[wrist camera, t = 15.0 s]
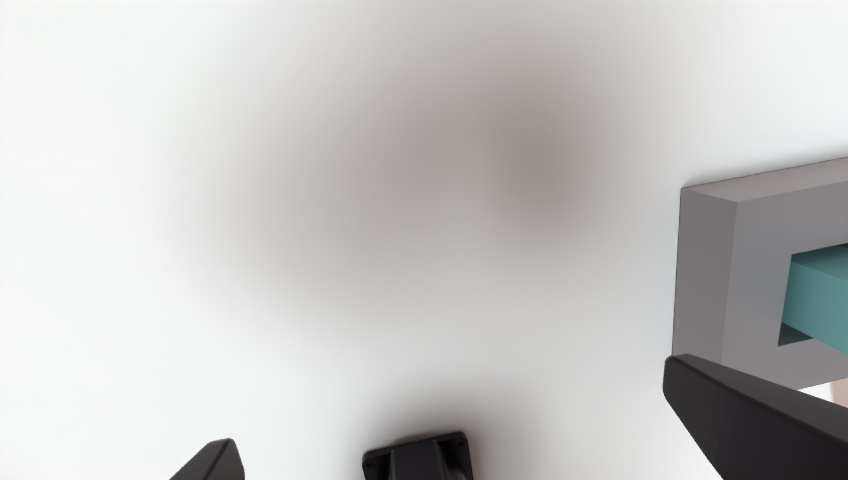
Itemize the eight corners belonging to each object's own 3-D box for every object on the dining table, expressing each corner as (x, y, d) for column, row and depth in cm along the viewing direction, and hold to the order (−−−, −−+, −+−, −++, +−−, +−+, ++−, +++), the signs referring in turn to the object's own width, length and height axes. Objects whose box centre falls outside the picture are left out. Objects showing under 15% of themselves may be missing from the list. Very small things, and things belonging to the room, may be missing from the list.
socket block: (838, 332, 27) (905, 364, 23) (671, 370, 26) (716, 409, 22) (876, 151, 23) (962, 158, 20) (681, 188, 22) (737, 202, 19)
